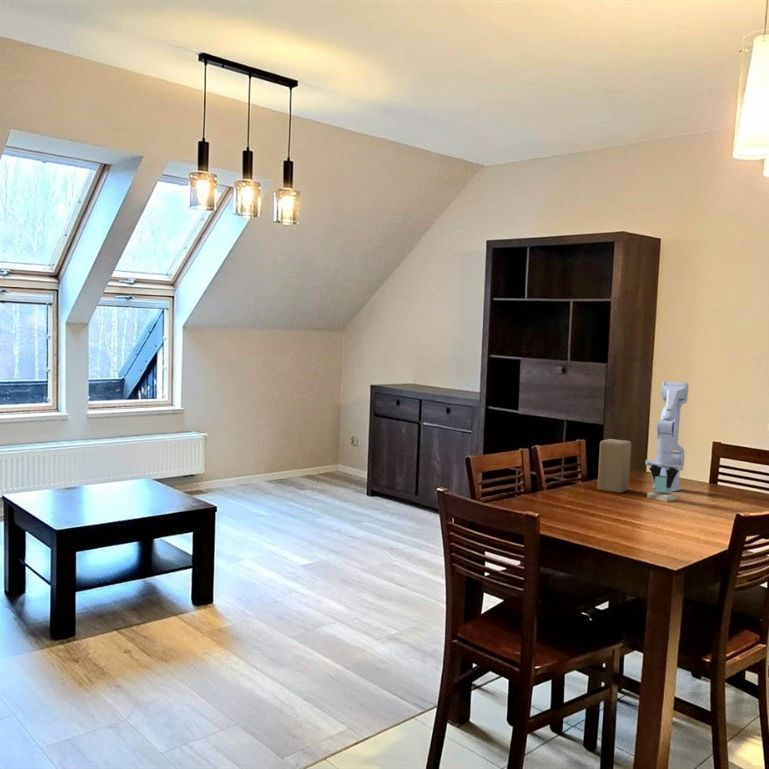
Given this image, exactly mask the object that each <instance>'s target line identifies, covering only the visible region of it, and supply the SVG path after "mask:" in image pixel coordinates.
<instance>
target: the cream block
mask: <svg viewBox="0 0 769 769" xmlns="http://www.w3.org/2000/svg"><path fill="white" fill-rule="evenodd" d="M646 498H647V499H652V500H657V501H662V502H671V501H675V500H676V501H677V499H678V494H677V493H674V492H666V493H664V492H659V491H650V492H647V497H646Z"/></svg>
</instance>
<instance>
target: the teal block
mask: <svg viewBox="0 0 769 769" xmlns="http://www.w3.org/2000/svg"><path fill="white" fill-rule="evenodd" d="M653 489H654V491H659V492H664V493H666V492H669V493H672V491H671V488H667V476H662V475H660V476H655V487H654V488H653Z"/></svg>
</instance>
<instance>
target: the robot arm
mask: <svg viewBox="0 0 769 769" xmlns="http://www.w3.org/2000/svg"><path fill="white" fill-rule="evenodd" d="M660 391H661V396H662V398H661V399H662V400H663V402H664V403H665V406H663V408H662V409H661V414H660V418H659V420H658V421H657V423H656V438H657V444H656V445H657V446H656V460H651V459H645V466H650V467H649V471H650V473H651V475H652V479H653V484H652V488H653V489H654V487H655V476H660V475H662V476H667V488H671V492H676V491H681V490H683V489H684V488H683V487H680V472H682V471H684V466H685V450H684V449H685V448H684V447H682V445H680V444H679V436H680V435H679V433H680V432H679V431H680V419H681V408H682V406H683V404H686V403H687V402H688V399H689V384H688V382H677V381H676V382H672V381H663V382H662V384H661V390H660Z"/></svg>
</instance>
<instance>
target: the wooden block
mask: <svg viewBox="0 0 769 769" xmlns="http://www.w3.org/2000/svg"><path fill="white" fill-rule="evenodd" d="M631 455H632V442H631V441H630V440H623V439H613V438H608V439H604V440H600V442H599V454H598V474H597V490H598V491H602V490H603V492H609V491H610V492H611V493H615V494H616V493H617V494H622V493H624V492H626V491H629V487H630V474H631V458H632V457H631ZM610 492H609V493H610Z"/></svg>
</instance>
